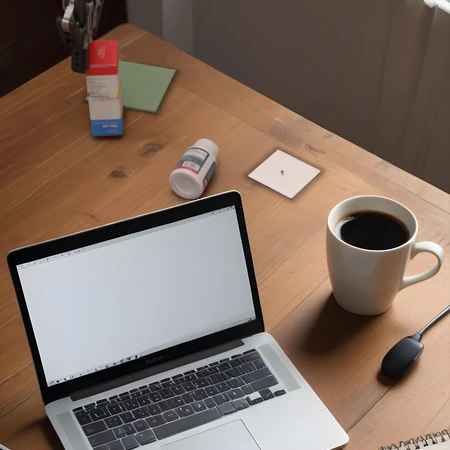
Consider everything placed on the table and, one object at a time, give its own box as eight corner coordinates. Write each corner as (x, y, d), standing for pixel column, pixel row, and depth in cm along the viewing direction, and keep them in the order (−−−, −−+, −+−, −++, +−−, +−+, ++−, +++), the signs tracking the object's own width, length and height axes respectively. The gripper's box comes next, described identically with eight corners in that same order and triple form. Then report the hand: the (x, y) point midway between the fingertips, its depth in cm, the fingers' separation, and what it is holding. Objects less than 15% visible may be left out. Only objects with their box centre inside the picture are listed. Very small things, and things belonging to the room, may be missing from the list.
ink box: (123, 136, 130) (116, 46, 119) (91, 137, 129) (81, 46, 119) (123, 109, 136) (117, 20, 125) (92, 109, 135) (83, 21, 125)
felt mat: (85, 101, 137) (85, 99, 136) (109, 60, 144) (108, 58, 144) (155, 113, 135) (155, 111, 135) (176, 71, 142) (175, 69, 142)
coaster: (321, 171, 127) (321, 167, 126) (291, 198, 123) (291, 194, 122) (278, 149, 130) (278, 145, 129) (247, 175, 126) (247, 171, 125)
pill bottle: (182, 204, 123) (204, 168, 129) (208, 195, 120) (230, 158, 125) (161, 176, 121) (184, 140, 126) (187, 166, 117) (210, 130, 123)
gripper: (73, -75, 114) (71, 49, 125) (35, -49, 104) (37, 83, 115) (125, -64, 113) (119, 60, 124) (92, -37, 103) (89, 95, 114)
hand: (80, 71), depth 119 cm, fingers closed
